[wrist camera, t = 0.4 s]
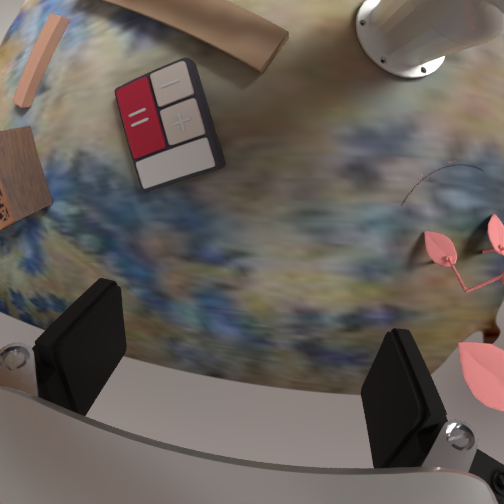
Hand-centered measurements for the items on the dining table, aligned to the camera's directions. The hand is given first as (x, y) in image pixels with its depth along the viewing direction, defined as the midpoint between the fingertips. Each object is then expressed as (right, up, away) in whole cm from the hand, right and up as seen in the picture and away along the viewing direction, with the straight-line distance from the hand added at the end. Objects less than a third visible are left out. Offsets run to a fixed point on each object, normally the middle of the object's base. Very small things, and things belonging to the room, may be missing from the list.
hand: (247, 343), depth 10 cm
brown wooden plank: (-10, +36, +21) cm, 43 cm away
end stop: (-34, +34, +25) cm, 54 cm away
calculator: (-10, +20, +29) cm, 37 cm away
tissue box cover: (-47, +15, +36) cm, 61 cm away
